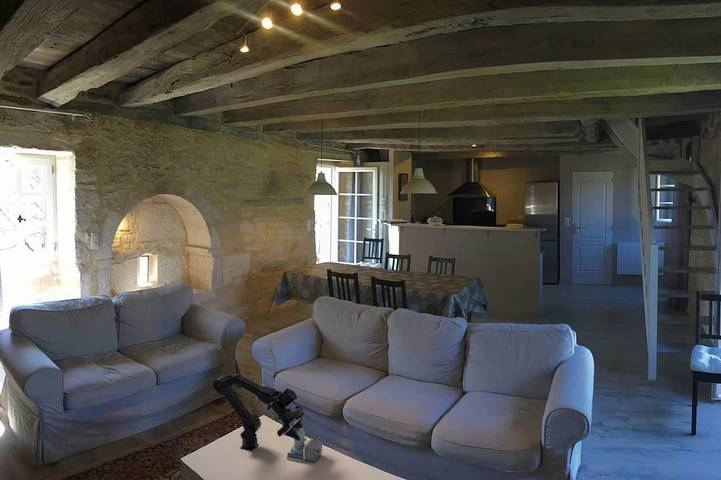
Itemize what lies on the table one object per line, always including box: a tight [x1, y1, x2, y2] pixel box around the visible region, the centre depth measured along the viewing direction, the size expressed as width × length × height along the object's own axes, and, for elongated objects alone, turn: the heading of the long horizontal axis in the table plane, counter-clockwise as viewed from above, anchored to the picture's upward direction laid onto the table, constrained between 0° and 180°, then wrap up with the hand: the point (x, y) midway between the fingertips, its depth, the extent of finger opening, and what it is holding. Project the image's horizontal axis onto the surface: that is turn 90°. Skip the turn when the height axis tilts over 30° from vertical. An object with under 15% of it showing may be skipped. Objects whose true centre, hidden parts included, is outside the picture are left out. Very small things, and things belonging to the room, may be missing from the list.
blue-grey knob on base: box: [290, 427, 308, 454], centre depth 233 cm, size 6×6×10 cm
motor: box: [286, 437, 323, 463], centre depth 233 cm, size 15×11×7 cm
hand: (302, 437), depth 233 cm, fingers closed on blue-grey knob on base, 5 cm apart
